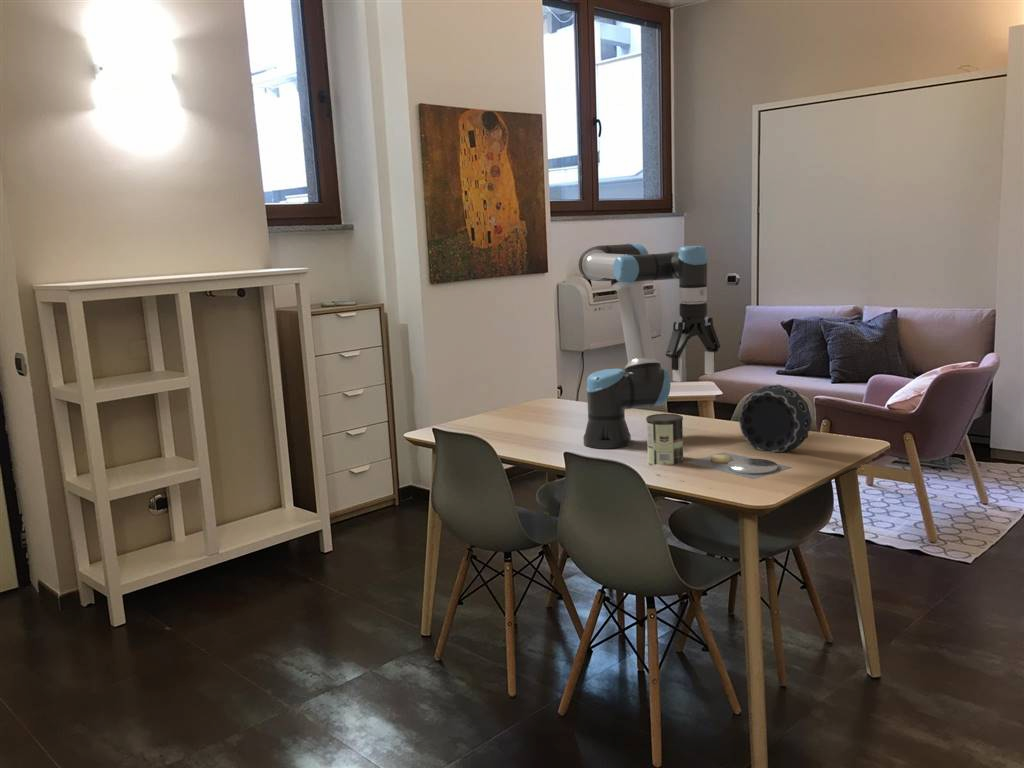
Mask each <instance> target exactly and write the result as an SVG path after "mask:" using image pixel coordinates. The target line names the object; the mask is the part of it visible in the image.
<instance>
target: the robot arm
mask: <svg viewBox="0 0 1024 768" xmlns="http://www.w3.org/2000/svg"><path fill="white" fill-rule="evenodd" d="M707 252H708V251H707V248H706V246H703V245H686V246H681V247H679V249H678V252H677V251H669V252H665V253H664V252H662V253H650V254H649V252H648V250H647V249H646V247H644V246H643V245H642V244H639V243H630V242H629V243H623V244H607V245H596V246H592V247H589V248H587V249H586V250H584V252H582V254H581V255H580V257H579V259H578V269H579V272H580V274H581V275H582V276H583V278H585V279H586V280H589V281H593V282H610V283H611V284H610V285H611V288H612V290H614V291H616V292H617V300H618V305H619V314H620V318H621V319H620V320H621V325H622V332H623V339H624V344H625V351H626V356H627V357H626V358H627V364H626V365H625V367H624V369H622V368H606V369H602V370H597V371H594V372H592V373H591V374H589V375H588V376H587V380H586V395H587V419H588V420H587V423H586V427H585V428H586V429H585V432H584V435H583V445H584V446H585V447H588V448H595V449H616V448H618V449H619V448H623V447H627V446H629V445H631V443H632V436H631V433H630V430H629V428H628V424H627V422H626V417H625V414H626V413H625V410H631V409H632V410H633V409H640V408H648V407H649V408H653V407H658V406H663V405H664V404H665V403H666V402H667V400H668V398H669V395H670V392H671V377H670V374H669V372H668V370H667V369H664V368H662V367H661V362H660V361H659V360H657V359H656V358H655V352H654V347H653V339H652V335H651V334H652V333H651V328H650V322H649V315H648V309H647V303H646V298H645V297H646V296H645V292H644V287H645V286H646V284H647V282H649V281H651V282H652V281H667V280H678V281H679V284H678V285H679V287H678V288H679V289H678V290H679V292H678V293H679V294H678V301H679V302H681V303H679V317H681V321H674V322H673V326H672V327H673V328H672V332H671V335H670V340H669V342H668V345H667V347H666V352H665V357H668V358H669V359H671V360H670V361H671V370H672V382H678V383H682V382H683V363H682V362H683V358H682V357H681V356H682V354H683V351H684V349H685V347H686V345H687V343H688V342H689V340H690V339H691V338H692V337H693V338H694V337H695V336H698V338H699V339H700V341H701V343H702V344H703V347H704V348H705V349H706V351H704V375H709V376H714V375H715V361H716V360H715V358H716V357H715V356H716V355H715V354H716V353H717V352H719V349H720V348H721V344H720V341H719V338H718V336H717V333H716V330H715V327H714V322H713V317H708V303H707V302H706V301H707V300H708V287H707V286H708V253H707Z"/></svg>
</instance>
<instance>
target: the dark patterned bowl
mask: <svg viewBox="0 0 1024 768" xmlns="http://www.w3.org/2000/svg"><path fill="white" fill-rule="evenodd" d="M738 418H739V419H738V420H739V422H738V423H739V428H740V431H741V433H742V435H743V438H745V440H746V441H747V442H748V444H749V445H750V446H752V447H753V448H754V449H756V450H757V451H760V452H769V453H770V452H771V453H785V452H786V453H787V452H790V451H793V450H795V449H797V448H798V447H799V446H800V445H802V443H803V442H804V441H805V440H806V439H807V438H808V436H809V432H810V430H811V424H812V423H813V419H812V417H811V411H810V409H809V403H808V402H807V401H806V400H805V398H803V397H802V396H801V395H800V394H799V392H798V391H797V390H796V389H792V388H790V387H787V386H784V385H781V384H774V385H767V386H762V387H760V388H758V389H757V390H755V391H753V392H751V393H750V394H749V395H748V397H746V399H745V400H744V401H743V404H742V406H741V408H740V411H739V417H738Z"/></svg>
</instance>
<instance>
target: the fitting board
mask: <svg viewBox="0 0 1024 768" xmlns="http://www.w3.org/2000/svg"><path fill="white" fill-rule="evenodd" d="M749 458H750V457H747V456H743V455H738V454H734V453H730V452H725V451H723V452H719V453H716V454H713V455H709V456H704V457H700V458H697V459H693V460H689V461H685V463H686V464H690V465H694V466H699V467H702V468H706V469H711V470H714V471H719V472H722V473H727V474H732V475H735V476H738V477H739V476H740V477H743V478H747V479H753V480H755V479H759V478H761V477H765V476H768V475H769V476H770V475H773V474H775V473H779V472H782V471H785V470H789V469H792V468H793V467H792V466H789V465H785V464H779V463H776V464H777V471H775V472H772V473H768V474H760V475H750V474H740V473H735V472H732V471H730V470H729V469H728V463H729V462H730V461H733V460H738V459H749ZM751 458H752V459H754V458H753V457H751Z"/></svg>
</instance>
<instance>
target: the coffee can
mask: <svg viewBox="0 0 1024 768" xmlns="http://www.w3.org/2000/svg"><path fill="white" fill-rule="evenodd" d="M645 420H646V439H647V466H648V467H652V466H655V465H661V466H662V465H663V466H664V465H667V466H668V465H676V464H681V463H683V461H684V443H683V442H684V439H683V437H684V434H683V433H684V432H683V428H684V427H683V420H684V417H683V415H681V414H677V413H675V414H674V413H655V414H651V415H647V416H646V417H645Z"/></svg>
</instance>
